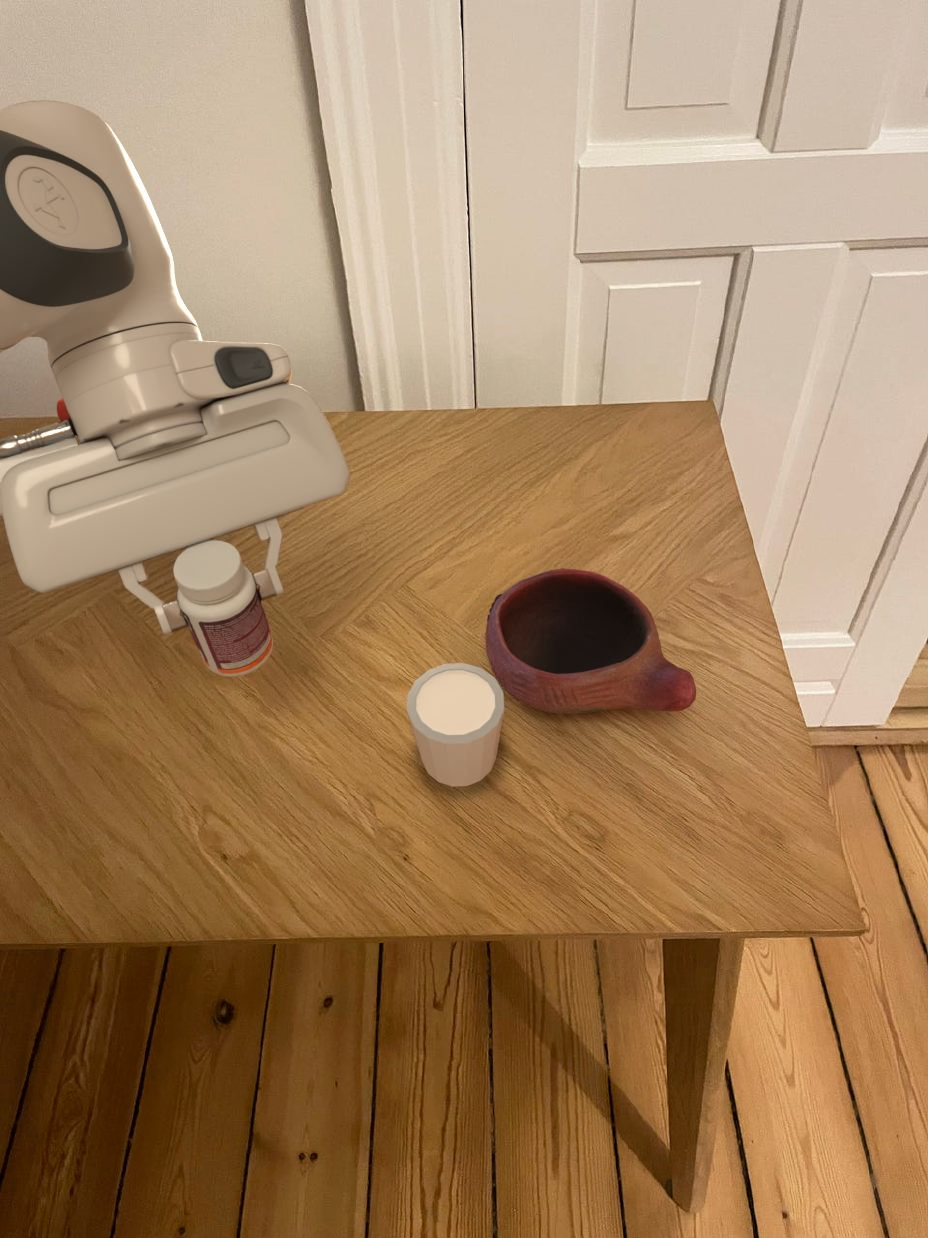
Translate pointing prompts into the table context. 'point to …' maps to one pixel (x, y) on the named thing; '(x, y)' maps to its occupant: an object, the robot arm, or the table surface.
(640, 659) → the bowl
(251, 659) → the pill bottle
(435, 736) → the shot glass
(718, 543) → the table surface
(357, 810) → the table surface
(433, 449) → the table surface
